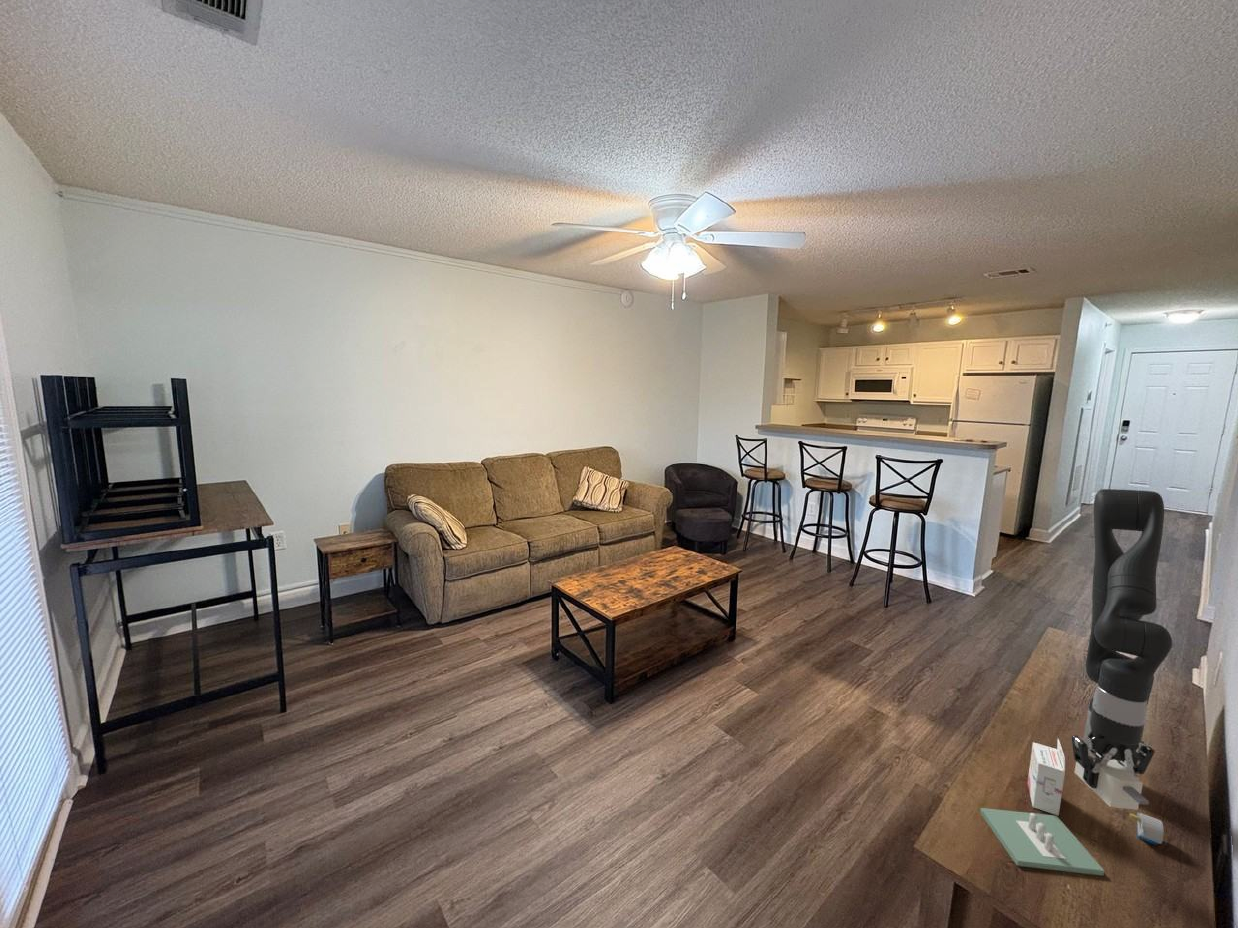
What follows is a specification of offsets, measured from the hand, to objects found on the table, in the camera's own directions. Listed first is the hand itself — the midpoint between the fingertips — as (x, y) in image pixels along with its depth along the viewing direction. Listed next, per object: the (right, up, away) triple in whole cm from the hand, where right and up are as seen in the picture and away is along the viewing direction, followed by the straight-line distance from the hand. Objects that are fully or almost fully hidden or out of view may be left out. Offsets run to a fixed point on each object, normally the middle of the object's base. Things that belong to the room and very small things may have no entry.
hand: (1104, 786), depth 102 cm
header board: (-10, -15, +5) cm, 19 cm away
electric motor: (+14, -15, +6) cm, 22 cm away
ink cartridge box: (0, -14, +16) cm, 21 cm away
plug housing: (0, -1, -2) cm, 2 cm away
